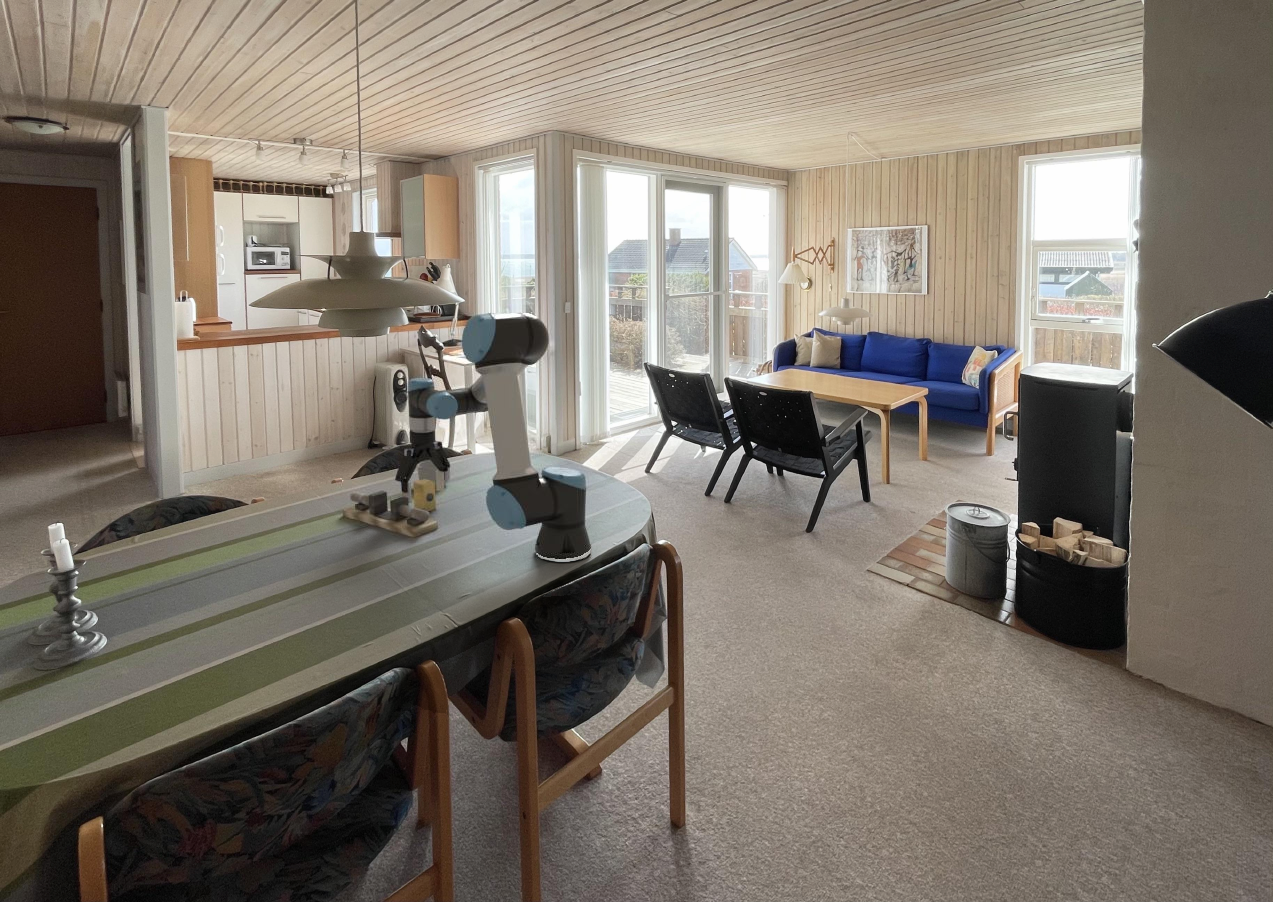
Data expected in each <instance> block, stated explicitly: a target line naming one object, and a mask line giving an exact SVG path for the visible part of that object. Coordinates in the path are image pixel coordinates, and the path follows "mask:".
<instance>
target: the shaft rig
mask: <svg viewBox="0 0 1273 902" xmlns="http://www.w3.org/2000/svg"><path fill="white" fill-rule="evenodd" d="M349 498H350V500H351V502H353V503H354V502H355V503H356V504H355V503H354V505H353V506H350V507H348V508H344V509H342V516H343V517H345V518H349V519H351V520H354V519H355V520H354V521H358V522H361V521H362V522H361V523H365V524H367V525H368V524H369V525H370V526H371V525H372V526H375V527H378V528H381V529H384V530H385V529H386V530H388V531H391V532H395V533H399V534H402V535H404V536H408V537H411V538H418V537H420V536H421V535H425V534H427V533H430V532H432V531H435V530H438V529H439V523H438V521H436V520H432V519H430V515H431V514H430V512H428V511H425V510H421V509H418V508H414V507H413V506H410V503H409V501H408V497H404V496H403V495H402V496H400V497H398V498H394V499H390V500H389V505H390V506H388V491H385V490H380V491H377V492H373V493H370V494H366V493H362V492H358V491H352V493H351V494H350V496H349Z"/></svg>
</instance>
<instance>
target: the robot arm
mask: <svg viewBox="0 0 1273 902" xmlns="http://www.w3.org/2000/svg"><path fill="white" fill-rule="evenodd" d="M462 331H463V332H462V336H461V348H462V353H463V355H464V356H465V359H466V360H467V361H468V362H470V363H473V364H474V367H475V369H474V370H475V372H477V373H478V374H479V375H480V376H479V377H478V378H477V379H476V380H475V382H474V383H472V384H471V386H470V387H464V388H463V387H462V388H455V389H444V390H439V389H438V390H437V389H435V388H436V386H435V383H434V382H435V381H434V379H431V378H430V377H429V378H427V377H417V378H415V377H414V378H410V379H409V380H408V383H407V405H408V406H407V407H408V428H409V429H410V430H409V434H408V435H409V443H410V445H411V447H410V448H403V449H402V454H401V455H402V456H401V459H400V463H399V465H398V468H397V472H396V474H395V478H394V481H396V482H400V489H401V492H402V497H403V496H404V497H408V501H409V504H412V501H413V500H412V482H411V480H410V479H411V478H412V476H413V474H414V472H415V470H416V468H417V465H418V464H419V463H420V462H423V461H426V460H431V461H432V463H433V464H434V465H435V466H436V467H437V469H438V470H439V471H438V470H437V471H436V488H435V491H436V492H441V493H444V492H445V485H444V480H445V472H447V471H448V468H450V469H451V463H450V464H449V462H450V461H449V460H448V457H447V455H446V453H445V450H444V448H443V442H442V441H441V440H440V441H439V440H436V431H435V429H436V419H438V420H450V419H452V417H454V416H459V415H464V414H473V413H474V414H475V413H485V412H487V413H488V420H489V425H490V431H491V432H490V433H491V438H492V444H493V451H494V457H495V465H496V472H495V474H494V476H492V484H493V485H492V486H490V487H489V488H488V489H487V491H486V496H485V502H486V508H487V511H488V513H489V515H490V517H491V519H492V520H493V522H494V523H495V525H496V526H498V527H499V528H501V529H502V530H506V531H512V530H517V529H520V530H521V529H524V528H525V527H531V526H534V525H538V524H541V527H540V529H539V533H538V535H537V538H536V540H535V544H534V552H535V551H536V553H538V554H539V555H541V556H543V557H547V558H555V559H566V558H574V557H578V556H581V555H583V554H584V553H586V552H588V551H589V550H590V549H591V550H592V543H591V541H590V537H589V533H588V531H587V530H588V529H587V526H586V503H587V501H586V499H587V496H586V495H587V489H588V488H587V485H586V484H587V482H586V476H585V475H584V473H583V472H581V471H579V470H576V469H572V468H569V467H568V468H567V467H558V466H551V467H545V468H542V470H541V472H539V470H537V469H536V468H535V467H533V466H532V461H531V455H530V448H529V441H528V437H527V427H526V423H525V416H524V415H525V414H524V409H523V402H522V396H521V390H520V383H519V375H520V374H521V373H522V372H523V371H524V370H525V369H527V367H528V366H533V365H536V363H538V362H539V361H540V359H542V358H543V357H544V355H545V354H546V352H547V350H548V347H549V343H550V341H549V340H550V338H549V331H548V329H547V326H546V325H545V324H544V322H543V321H542V320H541V319H540V318H538V317H537V316H536V315H533V314H531V313H528V312H513V313H512V312H499V313H498V312H493V313H492V312H491V313H490V312H488V313H481V314H475V315H473V316H471V317H470V318H469V319H468V320H467V322H466V324H465V325H464V328H463V330H462ZM539 473H540V475H541V476H540V475H539Z"/></svg>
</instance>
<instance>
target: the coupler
mask: <svg viewBox="0 0 1273 902" xmlns="http://www.w3.org/2000/svg"><path fill="white" fill-rule="evenodd" d="M436 498H437V497H436V488H435V481H431V480H426V479H423V480H420V481H419V480H416V481H413V503H414V504H413V505H414V508H418V509H421V510H425V511H428V512H429V511H430V512H432V511H435V510H437V506H436V505H437V504H436V501H437V500H436ZM434 509H435V510H434ZM431 510H432V511H431ZM430 512H429V513H430Z"/></svg>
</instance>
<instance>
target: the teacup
mask: <svg viewBox="0 0 1273 902" xmlns="http://www.w3.org/2000/svg"><path fill="white" fill-rule="evenodd" d="M449 464H450V465H451V462H450V461H449ZM416 468H417V475H418V481H420V480H423V479H426V480H431V481H435V489H436V471H437V470H438V469H437V467H436V466H435V465H434V464H433V463H432V461H431V460H430V459H426V460H423V461H420V463H419V464H418V465H417V466H416ZM438 471H439V470H438ZM450 479H451V467H450V468H448V471H447V472H445V480H444V486H445V485H446V484H447V483H448V482H449V481H450Z"/></svg>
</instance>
